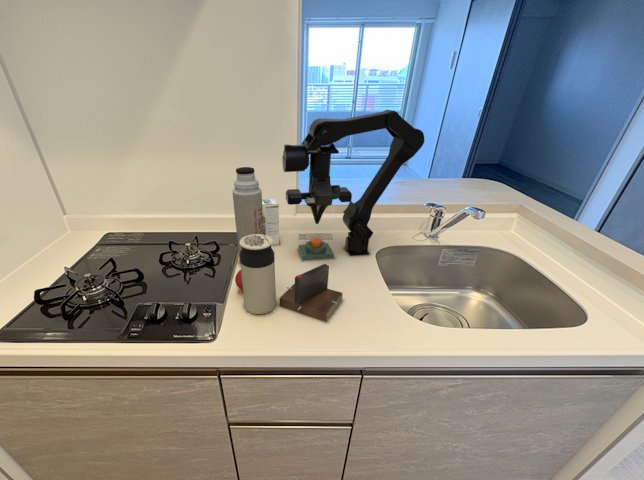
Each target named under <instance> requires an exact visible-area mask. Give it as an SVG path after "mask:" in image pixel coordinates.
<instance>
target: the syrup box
mask: <svg viewBox="0 0 644 480" xmlns="http://www.w3.org/2000/svg"><path fill="white" fill-rule="evenodd" d="M262 210H263V230H264V235H267V236H269V237H271V238H272V240H273V243H272V245H271V246H277V245H280V203H278V201H277V200H276V199H275V198H262Z"/></svg>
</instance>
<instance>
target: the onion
mask: <svg viewBox="0 0 644 480" xmlns="http://www.w3.org/2000/svg"><path fill="white" fill-rule="evenodd" d="M234 282H235V285H236V287H237V288H238V289H240V290H241V291H243V284H242V274H241V269H239V270H238V272H237V273H236V275H235V277H234Z"/></svg>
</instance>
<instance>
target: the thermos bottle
mask: <svg viewBox="0 0 644 480" xmlns="http://www.w3.org/2000/svg"><path fill="white" fill-rule="evenodd" d="M235 173H236V180H235V181H233V187H234V188H233V189H232V191H231V192H232V202H233V211H234V221H235V230H236V239H237V240H236V241H237V249H238V250H237V251H238V260H239V262H240V252H241V250H242V247H241V245H240V243H239V242H240V240H241V239H242V238H243V237H245V236H248V235H253V234H262V235H264V230H263V210H262V199H263V196H262V195H263V193H262V192H263V191H262V188H260V184H259V180H258V179H256V174H255V168H254V167H250V166H241V167H237V168H235ZM239 265H240V266H241V264H240V263H239Z"/></svg>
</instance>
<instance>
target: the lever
mask: <svg viewBox="0 0 644 480" xmlns="http://www.w3.org/2000/svg"><path fill="white" fill-rule="evenodd" d="M329 275H330V265H328V264H326V263H323V264H320V265H319V266H316V267H314V268H312V269H310V270H307V271H305V272H303V273H300V274H298V275H296V276H295V277H294V284H295V302H296V303H298V304H300V303H302V302H304V301H306V300H308V299H310V298H312V297H314V296H316V295H318V294H319V293H321V292H323V291H325V290H327V289H328V287H329Z"/></svg>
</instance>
